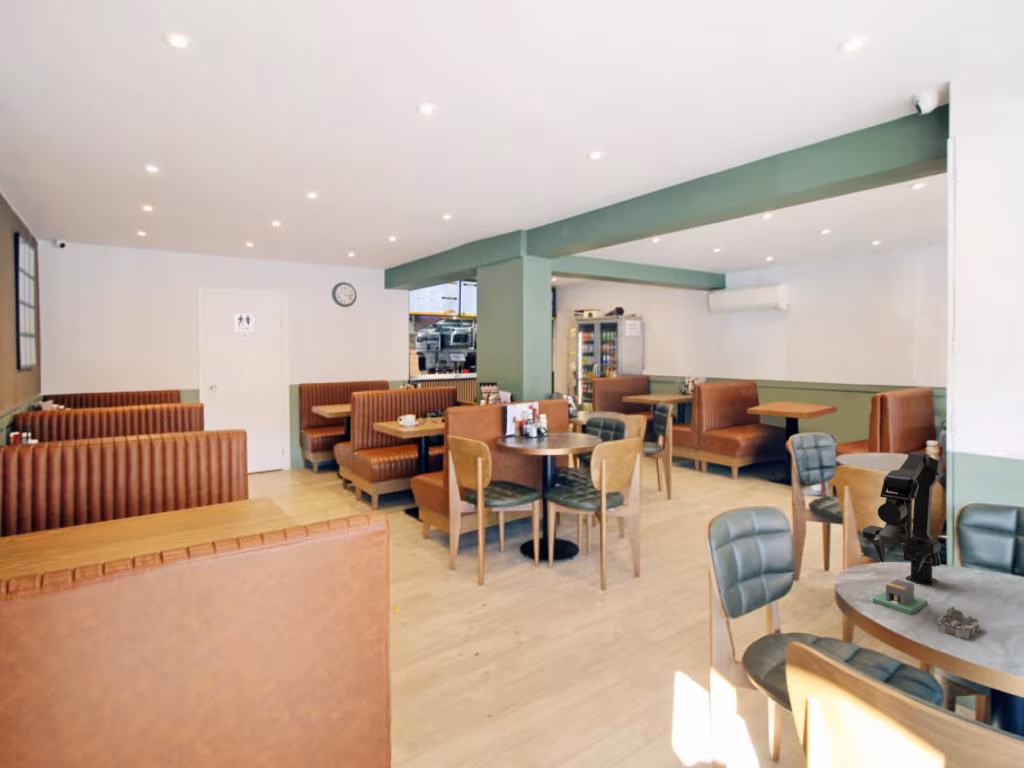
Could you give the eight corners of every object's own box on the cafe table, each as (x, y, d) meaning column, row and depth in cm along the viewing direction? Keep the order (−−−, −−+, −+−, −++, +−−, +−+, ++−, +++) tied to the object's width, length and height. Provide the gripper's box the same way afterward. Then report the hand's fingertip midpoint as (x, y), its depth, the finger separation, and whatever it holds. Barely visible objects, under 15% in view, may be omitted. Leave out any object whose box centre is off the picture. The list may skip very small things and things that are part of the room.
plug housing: (896, 593, 170) (896, 578, 169) (913, 598, 166) (914, 583, 166) (885, 599, 166) (886, 584, 166) (903, 605, 162) (903, 589, 162)
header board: (889, 592, 173) (889, 581, 173) (927, 604, 165) (927, 593, 165) (872, 602, 167) (872, 591, 167) (910, 614, 159) (911, 603, 159)
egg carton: (952, 619, 156) (953, 605, 156) (985, 631, 149) (985, 616, 149) (932, 629, 151) (932, 614, 151) (965, 641, 144) (965, 626, 144)
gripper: (853, 513, 168) (853, 564, 169) (925, 529, 153) (924, 584, 154) (870, 506, 174) (870, 555, 175) (941, 521, 159) (941, 574, 160)
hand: (899, 566), depth 166 cm, fingers open, 9 cm apart
